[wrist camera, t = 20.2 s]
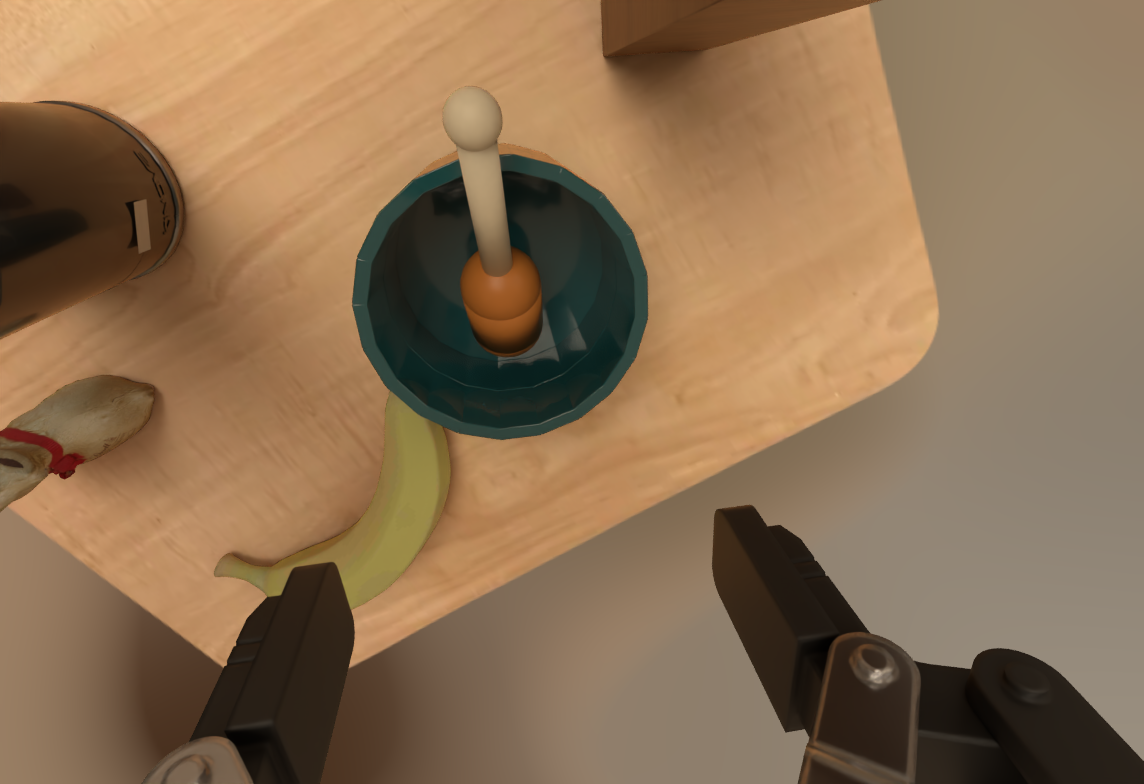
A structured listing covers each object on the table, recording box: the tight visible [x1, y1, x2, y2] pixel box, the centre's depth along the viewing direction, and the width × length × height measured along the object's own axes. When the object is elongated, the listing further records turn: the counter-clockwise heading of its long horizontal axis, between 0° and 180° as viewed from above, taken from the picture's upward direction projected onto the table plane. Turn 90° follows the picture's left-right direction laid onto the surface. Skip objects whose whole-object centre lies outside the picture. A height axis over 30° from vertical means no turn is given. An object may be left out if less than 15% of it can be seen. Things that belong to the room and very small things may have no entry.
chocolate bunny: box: [0, 375, 154, 512], centre depth 34 cm, size 6×8×10 cm
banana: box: [214, 391, 451, 610], centre depth 42 cm, size 14×6×20 cm
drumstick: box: [443, 86, 543, 357], centre depth 30 cm, size 4×19×4 cm
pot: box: [352, 143, 648, 440], centre depth 33 cm, size 14×14×10 cm
